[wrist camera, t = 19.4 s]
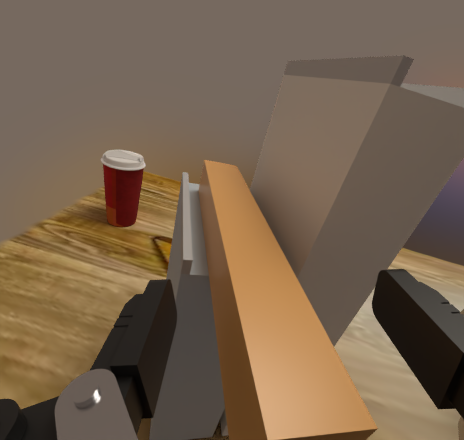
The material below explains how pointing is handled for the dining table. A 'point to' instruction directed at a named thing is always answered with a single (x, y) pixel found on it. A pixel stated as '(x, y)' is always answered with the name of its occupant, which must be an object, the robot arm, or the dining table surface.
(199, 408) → the grey box
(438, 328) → the robot arm
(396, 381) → the dining table surface
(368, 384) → the dining table surface
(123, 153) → the paper cup
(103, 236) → the dining table surface
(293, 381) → the bar
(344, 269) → the tall pale grey pillar
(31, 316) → the dining table surface
